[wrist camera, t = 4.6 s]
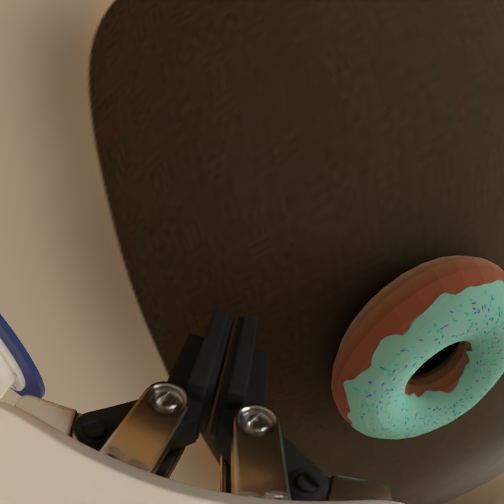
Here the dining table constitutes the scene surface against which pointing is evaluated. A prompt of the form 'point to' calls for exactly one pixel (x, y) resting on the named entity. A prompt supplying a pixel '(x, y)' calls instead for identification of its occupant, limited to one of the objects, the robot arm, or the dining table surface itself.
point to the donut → (422, 348)
